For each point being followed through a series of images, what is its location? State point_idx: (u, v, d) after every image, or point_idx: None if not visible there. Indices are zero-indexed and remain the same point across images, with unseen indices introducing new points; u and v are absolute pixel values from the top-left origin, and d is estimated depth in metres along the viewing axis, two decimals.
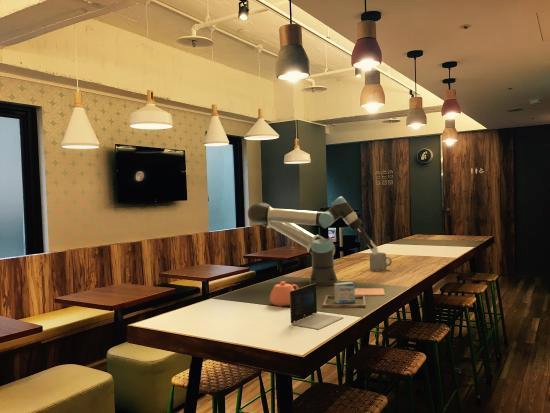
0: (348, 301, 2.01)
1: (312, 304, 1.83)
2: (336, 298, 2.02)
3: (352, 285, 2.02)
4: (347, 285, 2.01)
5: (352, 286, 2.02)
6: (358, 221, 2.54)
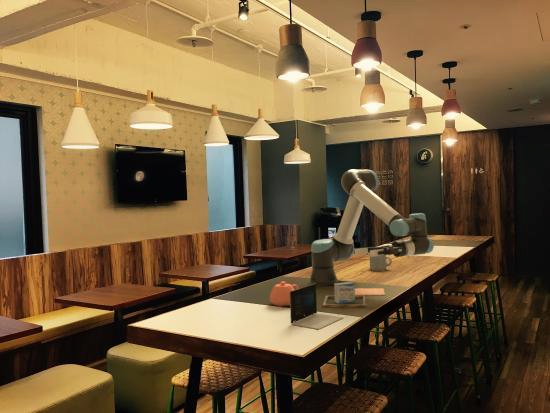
0: (348, 301, 2.01)
1: (312, 305, 1.83)
2: (336, 298, 2.02)
3: (352, 285, 2.02)
4: (347, 285, 2.01)
5: (352, 286, 2.02)
6: (402, 254, 2.11)
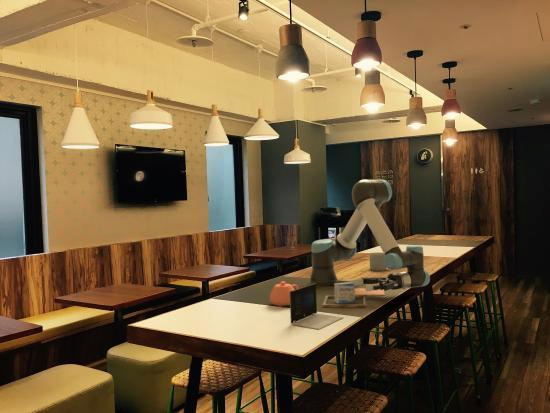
0: (348, 301, 2.01)
1: (312, 305, 1.83)
2: (336, 298, 2.02)
3: (352, 285, 2.02)
4: (347, 285, 2.01)
5: (352, 286, 2.02)
6: (398, 287, 2.09)
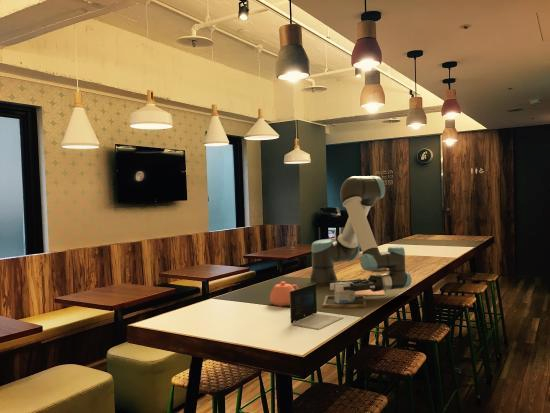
0: (348, 301, 2.01)
1: (312, 305, 1.83)
2: (336, 298, 2.02)
3: None
4: None
5: None
6: (379, 289, 2.06)
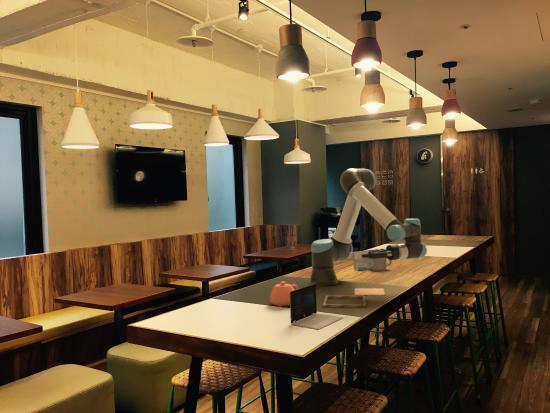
0: (366, 268, 2.14)
1: (311, 305, 1.83)
2: (355, 266, 2.15)
3: None
4: None
5: None
6: (396, 258, 2.18)
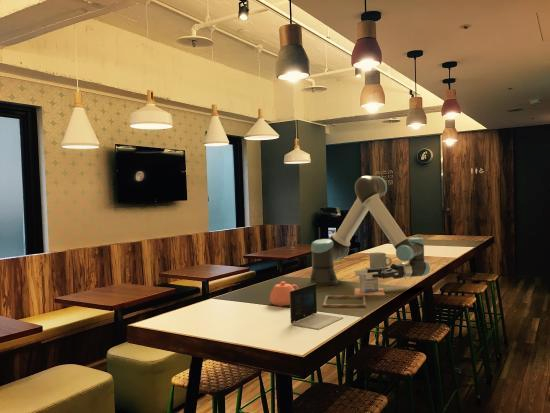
0: (372, 290, 2.20)
1: (311, 305, 1.83)
2: (361, 287, 2.21)
3: None
4: None
5: None
6: (400, 276, 2.24)
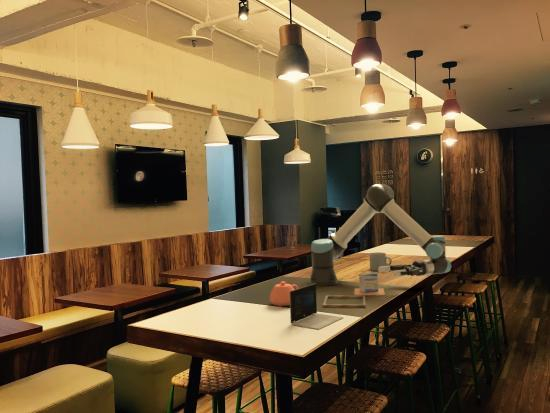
0: (372, 290, 2.20)
1: (311, 305, 1.83)
2: (361, 287, 2.21)
3: (376, 275, 2.21)
4: (371, 275, 2.20)
5: (376, 276, 2.21)
6: (422, 273, 2.29)
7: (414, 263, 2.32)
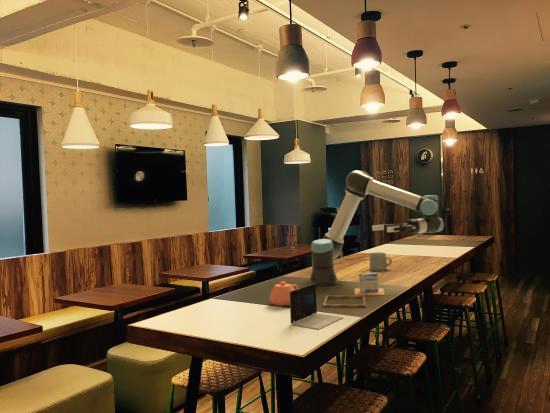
0: (372, 290, 2.20)
1: (311, 305, 1.83)
2: (361, 287, 2.21)
3: (376, 275, 2.21)
4: (371, 275, 2.20)
5: (376, 276, 2.21)
6: (416, 231, 2.32)
7: (407, 221, 2.35)
